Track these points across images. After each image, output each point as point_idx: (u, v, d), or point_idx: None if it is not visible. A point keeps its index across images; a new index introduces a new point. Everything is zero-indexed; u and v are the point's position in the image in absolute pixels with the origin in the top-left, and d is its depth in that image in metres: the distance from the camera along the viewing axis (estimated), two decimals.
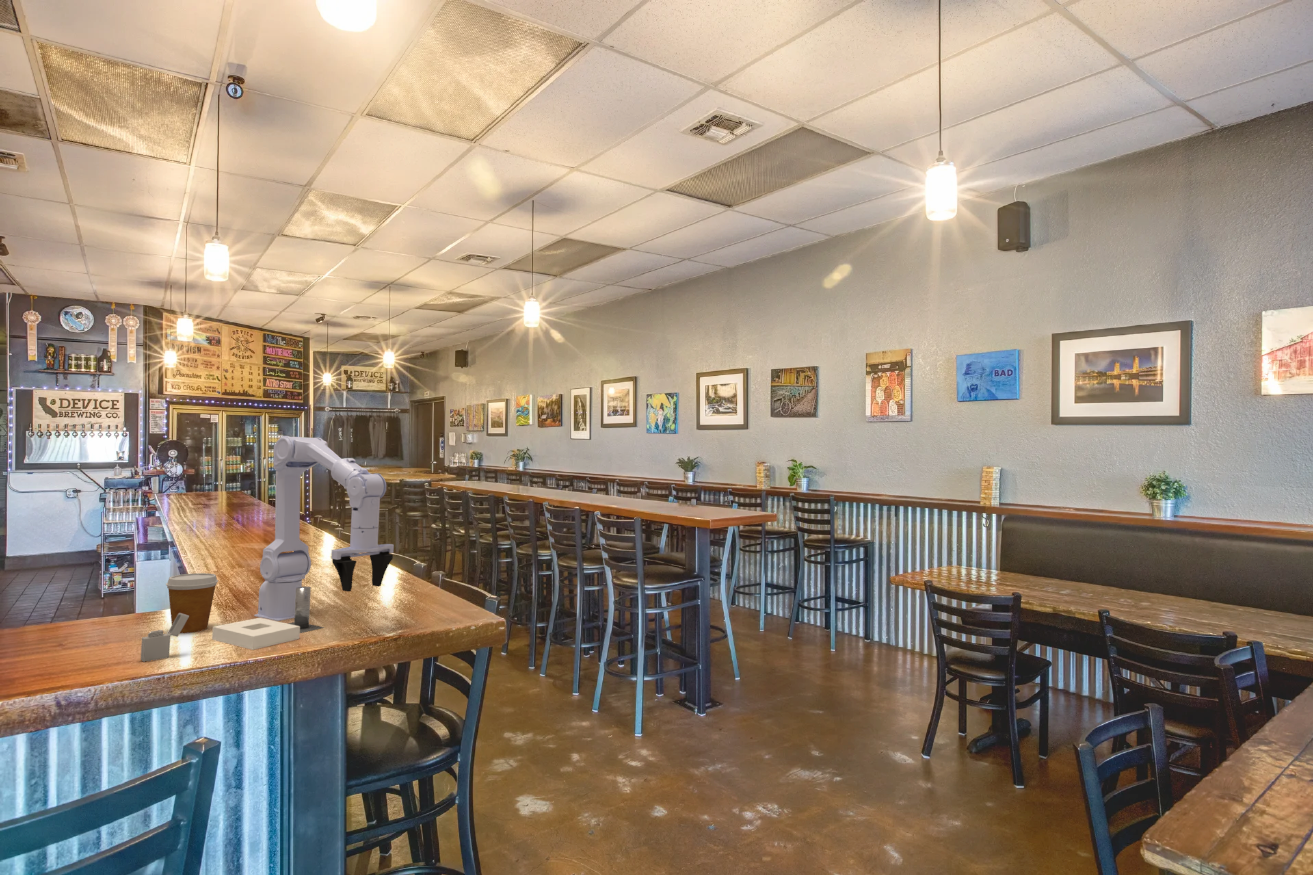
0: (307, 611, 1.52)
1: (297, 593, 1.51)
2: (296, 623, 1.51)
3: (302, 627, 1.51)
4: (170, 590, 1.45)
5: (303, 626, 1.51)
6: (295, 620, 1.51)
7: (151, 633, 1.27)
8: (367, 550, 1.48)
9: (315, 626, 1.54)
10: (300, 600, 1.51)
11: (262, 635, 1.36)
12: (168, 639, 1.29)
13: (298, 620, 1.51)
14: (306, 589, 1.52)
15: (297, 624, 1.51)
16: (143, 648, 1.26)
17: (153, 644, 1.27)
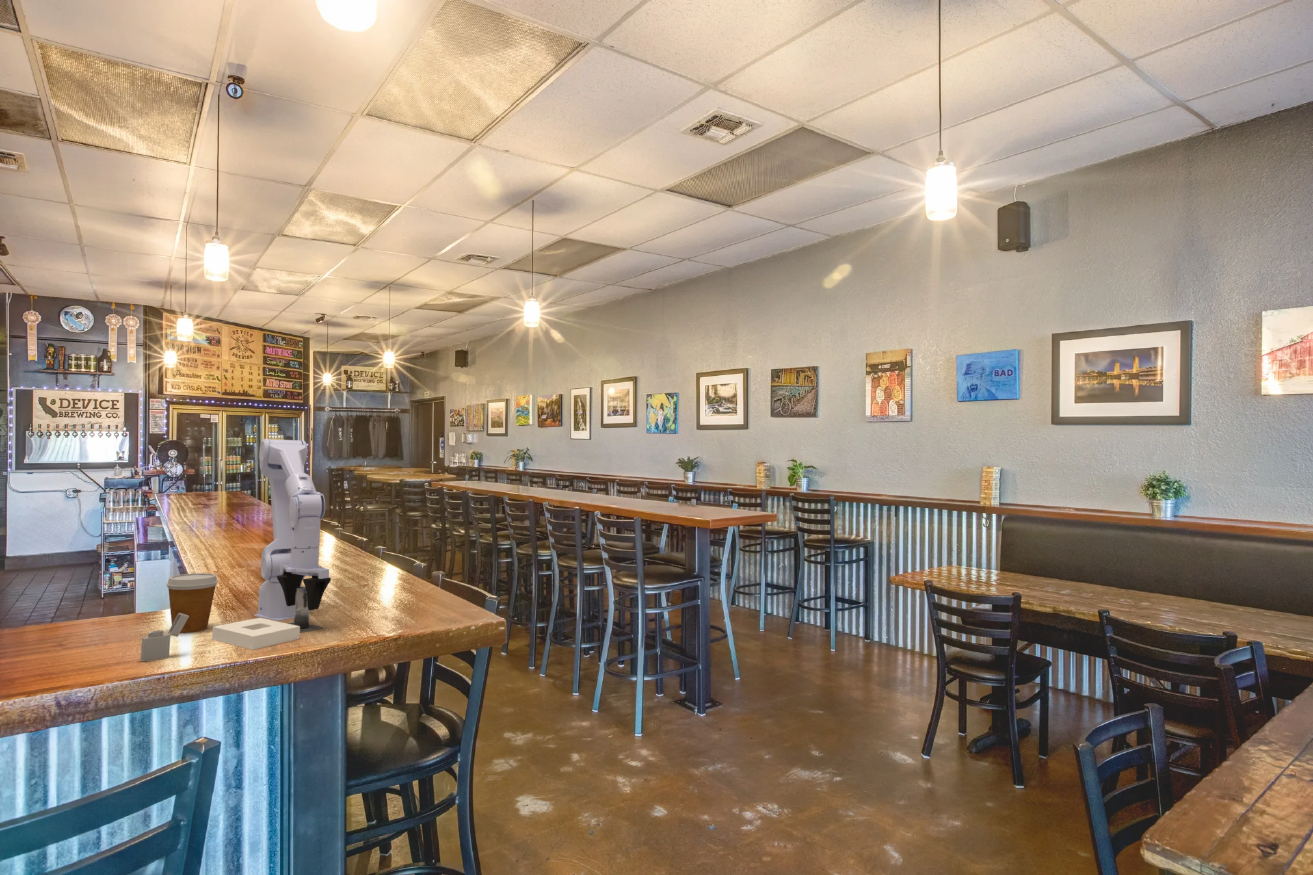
0: (307, 611, 1.52)
1: (297, 593, 1.51)
2: (296, 623, 1.51)
3: (302, 627, 1.51)
4: (170, 590, 1.45)
5: (303, 626, 1.51)
6: (295, 620, 1.51)
7: (151, 633, 1.27)
8: None
9: (315, 626, 1.54)
10: (300, 600, 1.51)
11: (262, 635, 1.36)
12: (168, 639, 1.29)
13: (298, 620, 1.51)
14: None
15: (297, 624, 1.51)
16: (143, 648, 1.26)
17: (153, 644, 1.27)
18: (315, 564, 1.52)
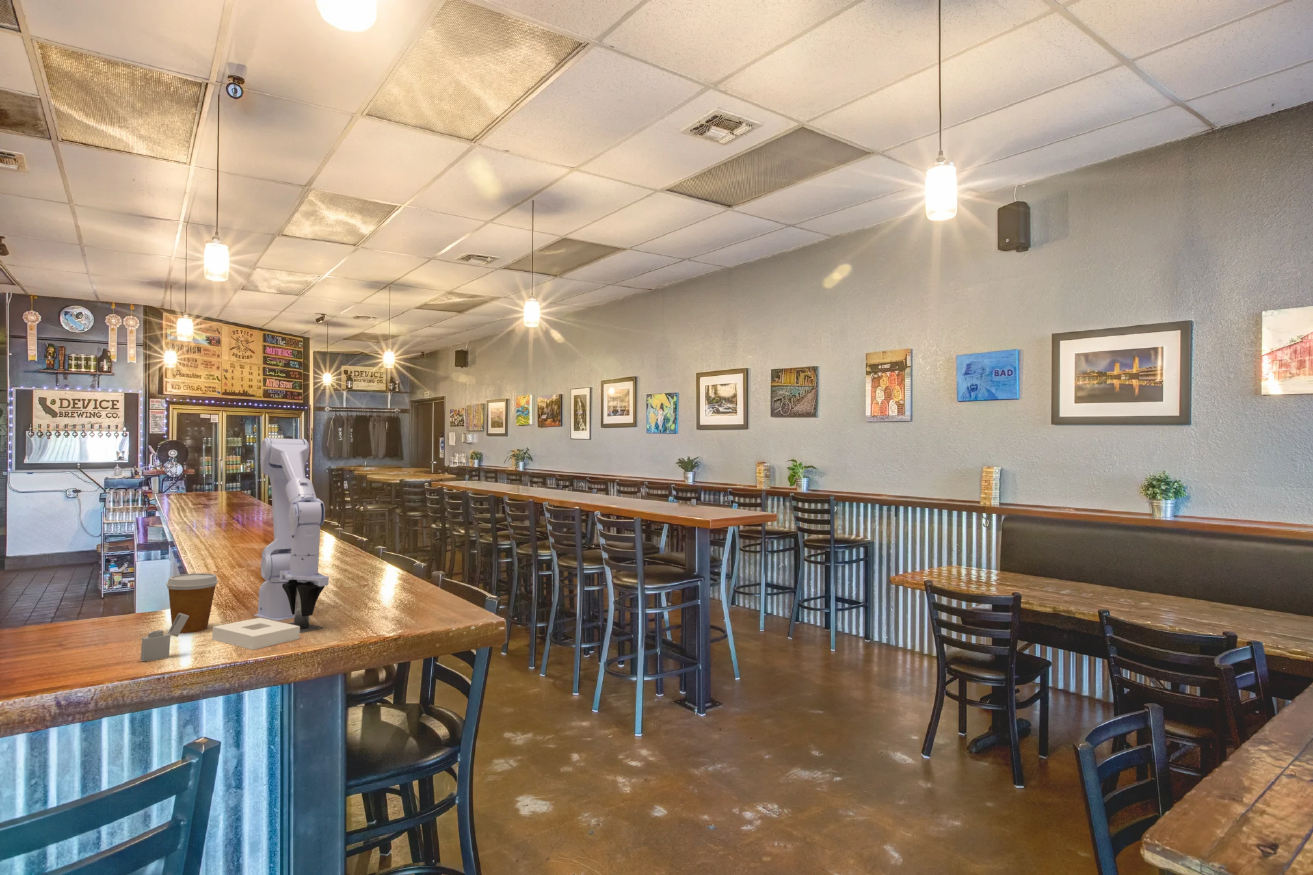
0: None
1: (297, 593, 1.51)
2: (296, 623, 1.51)
3: (302, 627, 1.51)
4: (170, 590, 1.45)
5: (303, 626, 1.51)
6: (295, 620, 1.51)
7: (151, 633, 1.27)
8: None
9: (315, 626, 1.54)
10: (300, 600, 1.51)
11: (262, 635, 1.36)
12: (168, 639, 1.29)
13: (298, 620, 1.51)
14: None
15: (297, 624, 1.51)
16: (143, 648, 1.26)
17: (153, 644, 1.27)
18: (314, 572, 1.52)
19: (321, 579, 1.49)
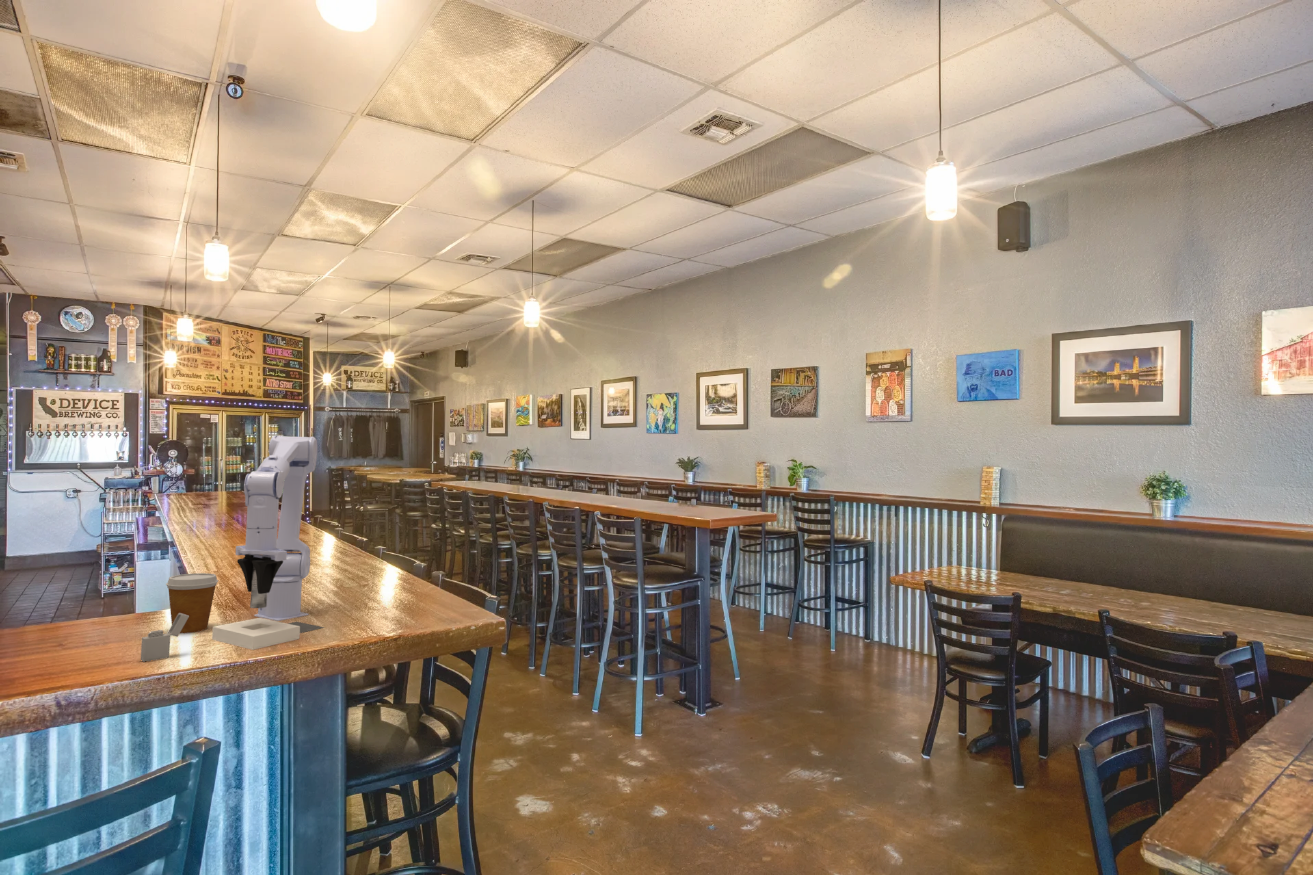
0: None
1: (254, 569, 1.41)
2: (252, 601, 1.41)
3: (259, 606, 1.41)
4: (170, 590, 1.45)
5: (260, 605, 1.41)
6: (251, 598, 1.41)
7: (151, 633, 1.27)
8: None
9: (315, 626, 1.54)
10: None
11: (262, 635, 1.36)
12: (168, 639, 1.29)
13: (254, 598, 1.41)
14: None
15: (253, 603, 1.41)
16: (143, 648, 1.26)
17: (153, 644, 1.27)
18: (272, 546, 1.42)
19: (278, 553, 1.39)
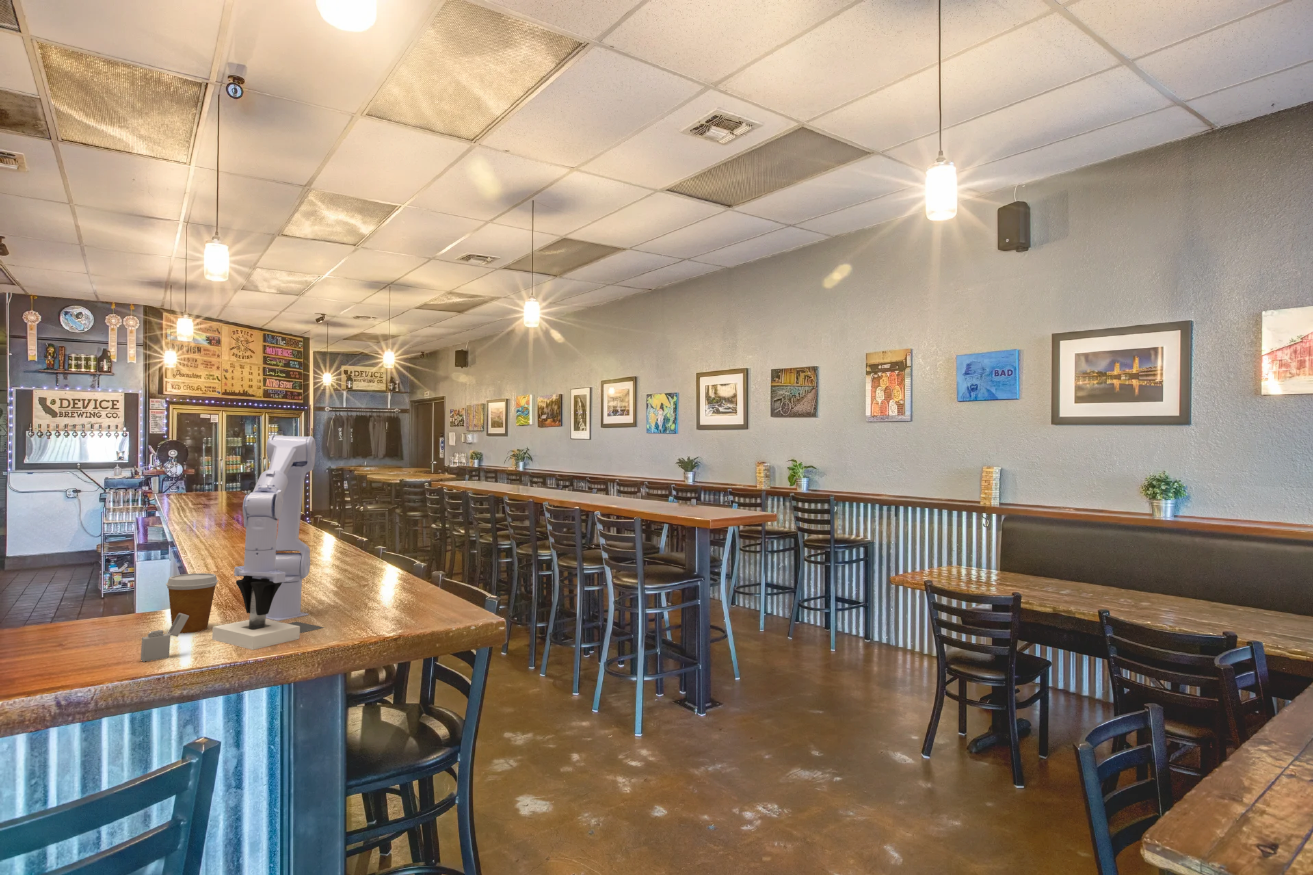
0: None
1: (253, 591, 1.41)
2: (251, 623, 1.41)
3: (257, 627, 1.41)
4: (170, 590, 1.45)
5: (258, 626, 1.41)
6: (250, 620, 1.41)
7: (151, 633, 1.27)
8: None
9: (315, 626, 1.54)
10: None
11: (262, 635, 1.36)
12: (168, 639, 1.29)
13: (253, 620, 1.41)
14: None
15: (252, 624, 1.41)
16: (143, 648, 1.26)
17: (153, 644, 1.27)
18: (271, 567, 1.42)
19: (277, 575, 1.39)
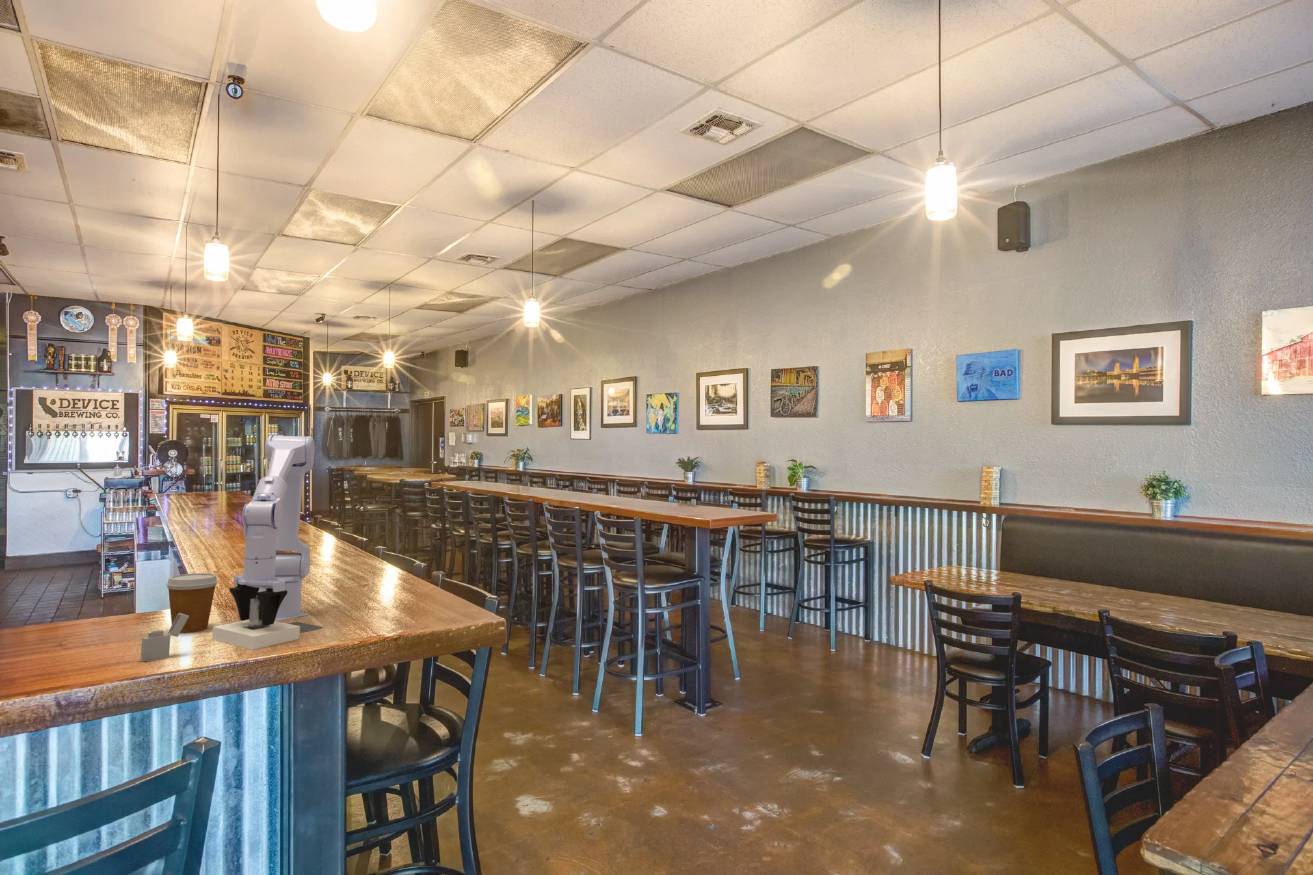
0: None
1: (251, 604, 1.41)
2: None
3: None
4: (170, 590, 1.45)
5: None
6: None
7: (151, 633, 1.27)
8: None
9: (315, 626, 1.54)
10: (254, 612, 1.41)
11: (262, 635, 1.36)
12: (168, 639, 1.29)
13: None
14: None
15: None
16: (143, 648, 1.26)
17: (153, 644, 1.27)
18: (270, 576, 1.42)
19: (276, 584, 1.38)
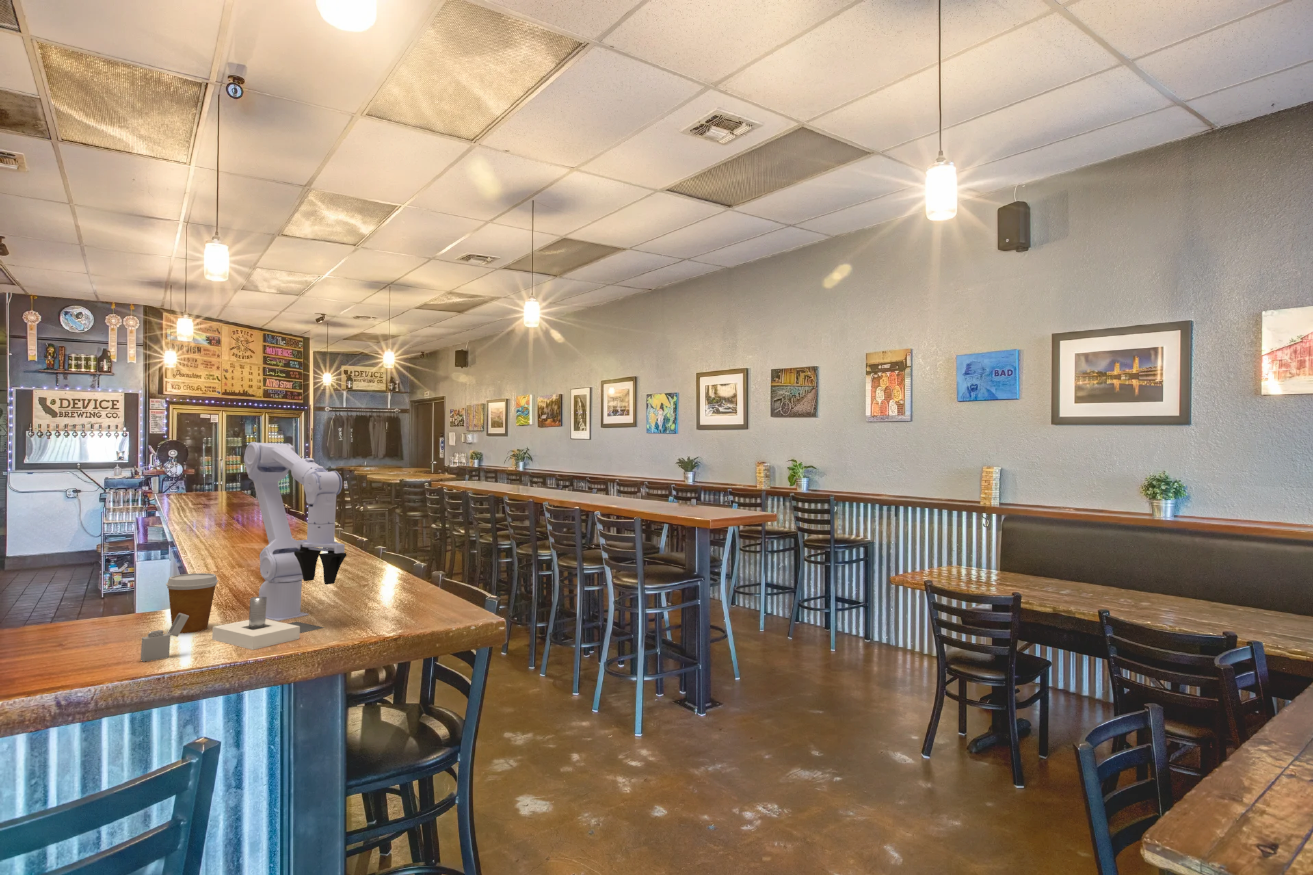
0: (263, 623, 1.42)
1: (251, 604, 1.41)
2: None
3: None
4: (170, 590, 1.45)
5: None
6: None
7: (151, 633, 1.27)
8: None
9: (315, 626, 1.54)
10: (255, 612, 1.41)
11: (262, 635, 1.36)
12: (168, 639, 1.29)
13: None
14: (261, 600, 1.41)
15: None
16: (143, 648, 1.26)
17: (153, 644, 1.27)
18: (331, 540, 1.55)
19: (337, 546, 1.52)
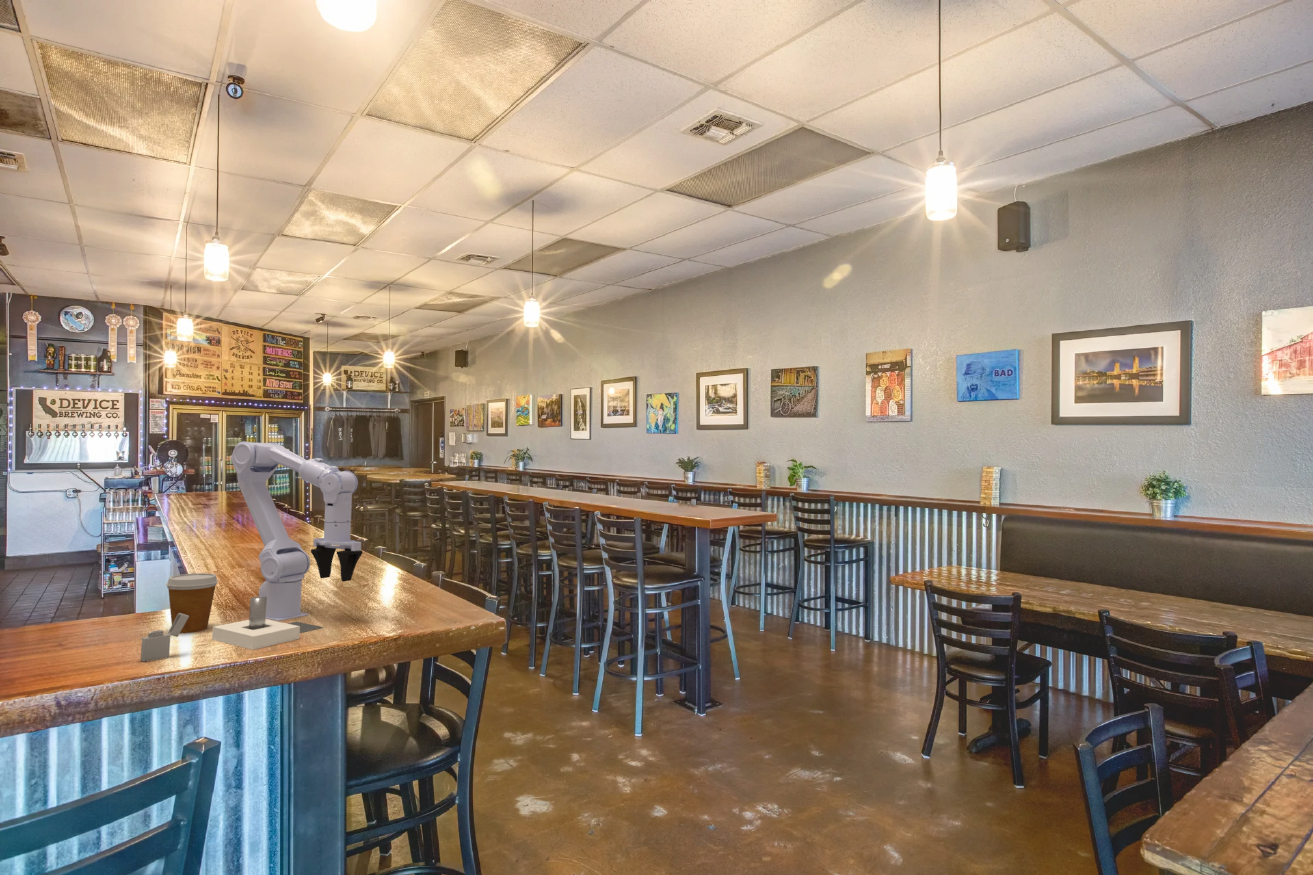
0: (263, 623, 1.42)
1: (251, 604, 1.41)
2: None
3: None
4: (170, 590, 1.45)
5: None
6: None
7: (151, 633, 1.27)
8: None
9: (315, 626, 1.54)
10: (255, 611, 1.41)
11: (262, 635, 1.36)
12: (168, 639, 1.29)
13: None
14: (261, 599, 1.42)
15: None
16: (143, 648, 1.26)
17: (153, 644, 1.27)
18: (347, 538, 1.59)
19: (354, 544, 1.56)
